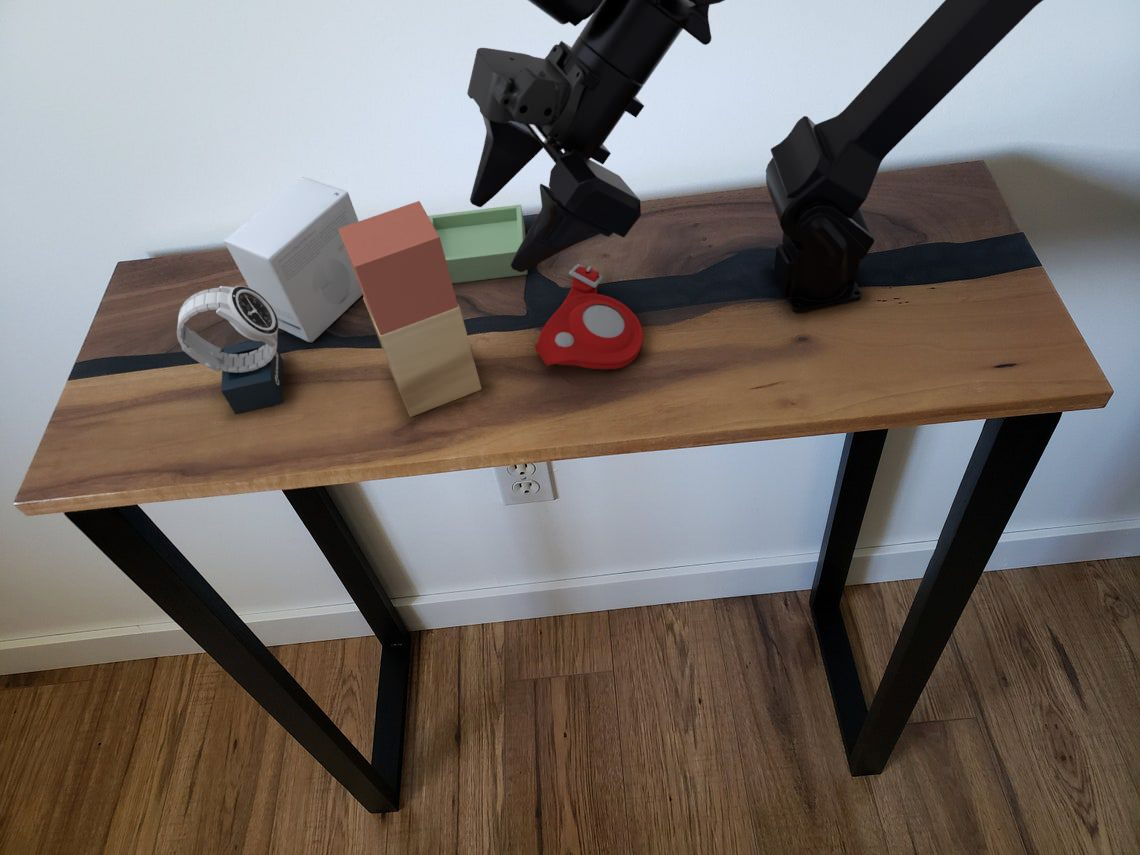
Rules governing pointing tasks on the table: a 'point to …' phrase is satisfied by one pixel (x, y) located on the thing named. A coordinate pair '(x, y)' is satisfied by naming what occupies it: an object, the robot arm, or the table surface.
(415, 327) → the block
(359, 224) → the reddish brown rectangular block
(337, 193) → the cosmetics box
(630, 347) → the tracker holder
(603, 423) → the table surface
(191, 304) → the watch
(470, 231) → the tray
